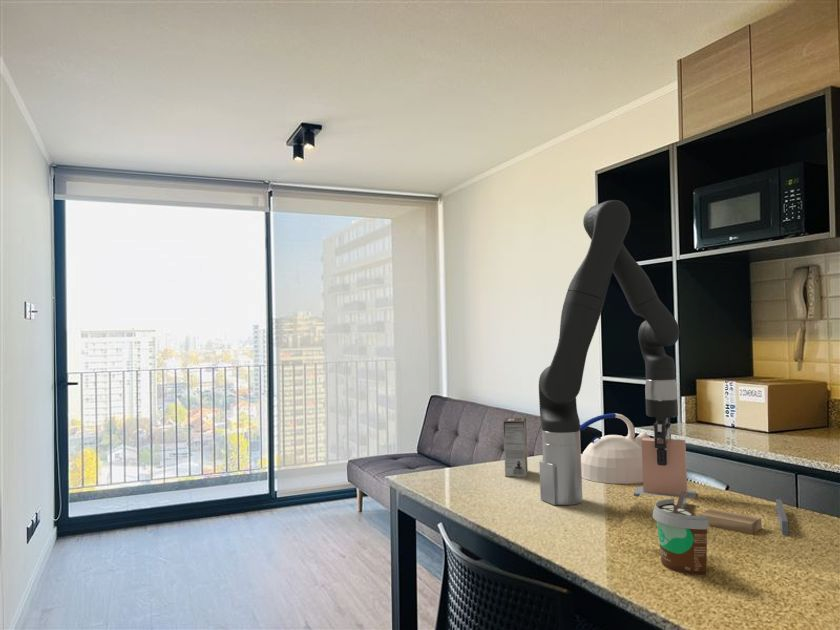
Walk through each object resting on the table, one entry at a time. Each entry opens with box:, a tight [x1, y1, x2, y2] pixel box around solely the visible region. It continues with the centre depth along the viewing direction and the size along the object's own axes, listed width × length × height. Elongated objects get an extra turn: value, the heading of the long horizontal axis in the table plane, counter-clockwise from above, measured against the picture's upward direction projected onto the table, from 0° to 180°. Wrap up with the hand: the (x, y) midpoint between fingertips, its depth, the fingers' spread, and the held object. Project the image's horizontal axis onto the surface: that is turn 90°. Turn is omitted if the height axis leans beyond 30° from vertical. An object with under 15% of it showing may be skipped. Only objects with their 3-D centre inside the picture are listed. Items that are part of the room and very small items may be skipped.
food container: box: [652, 498, 710, 576], centre depth 108 cm, size 12×6×10 cm, turn 5°
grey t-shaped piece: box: [633, 485, 697, 499], centre depth 156 cm, size 8×14×1 cm, turn 63°
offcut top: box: [698, 508, 762, 535], centre depth 125 cm, size 5×10×2 cm, turn 42°
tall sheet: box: [641, 437, 688, 496], centre depth 156 cm, size 4×10×13 cm, turn 64°
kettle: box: [580, 412, 651, 485], centre depth 179 cm, size 20×21×18 cm
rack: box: [676, 491, 790, 537], centre depth 131 cm, size 18×20×4 cm
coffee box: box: [502, 417, 528, 478], centre depth 185 cm, size 9×6×16 cm
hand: (663, 461), depth 156 cm, fingers open, 8 cm apart
